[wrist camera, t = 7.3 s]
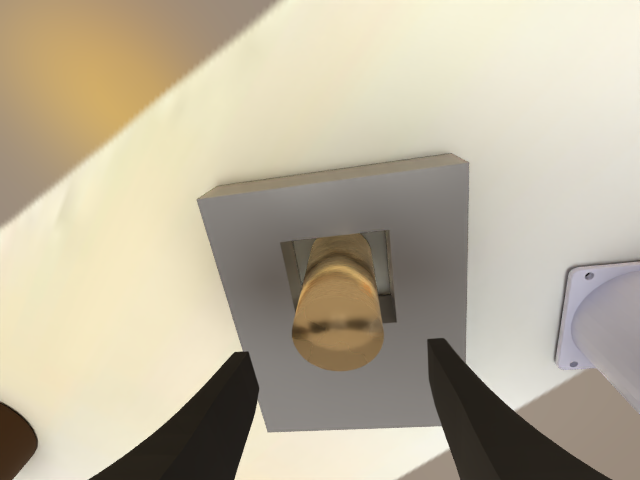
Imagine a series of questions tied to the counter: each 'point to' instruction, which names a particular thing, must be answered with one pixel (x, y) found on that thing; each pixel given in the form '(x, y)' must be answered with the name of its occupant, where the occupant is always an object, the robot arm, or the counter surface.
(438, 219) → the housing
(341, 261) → the pin
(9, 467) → the olive oil
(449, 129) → the counter surface
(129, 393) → the counter surface
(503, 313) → the counter surface
